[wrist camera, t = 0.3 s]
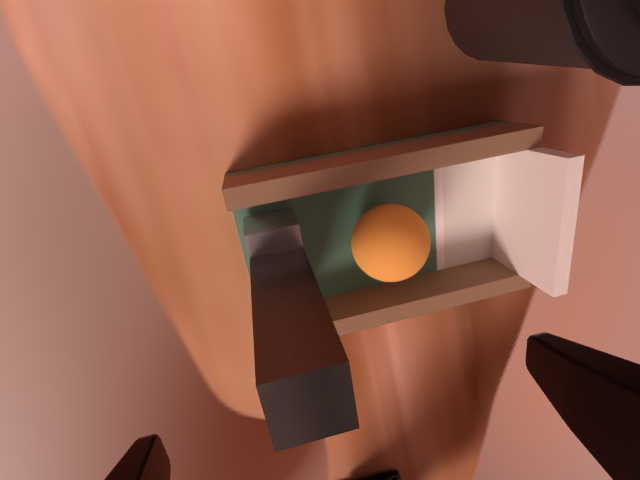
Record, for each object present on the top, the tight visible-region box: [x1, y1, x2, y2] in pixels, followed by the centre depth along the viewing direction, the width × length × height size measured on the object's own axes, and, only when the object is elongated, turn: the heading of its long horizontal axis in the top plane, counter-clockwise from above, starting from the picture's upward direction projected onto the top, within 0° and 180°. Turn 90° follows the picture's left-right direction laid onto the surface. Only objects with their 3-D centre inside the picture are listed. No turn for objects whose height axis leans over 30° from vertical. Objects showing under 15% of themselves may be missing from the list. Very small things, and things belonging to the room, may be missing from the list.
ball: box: [351, 204, 431, 282], centre depth 19 cm, size 4×4×4 cm
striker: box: [243, 207, 359, 452], centre depth 15 cm, size 5×2×11 cm, turn 8°
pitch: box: [222, 121, 585, 336], centre depth 19 cm, size 9×15×6 cm, turn 98°
